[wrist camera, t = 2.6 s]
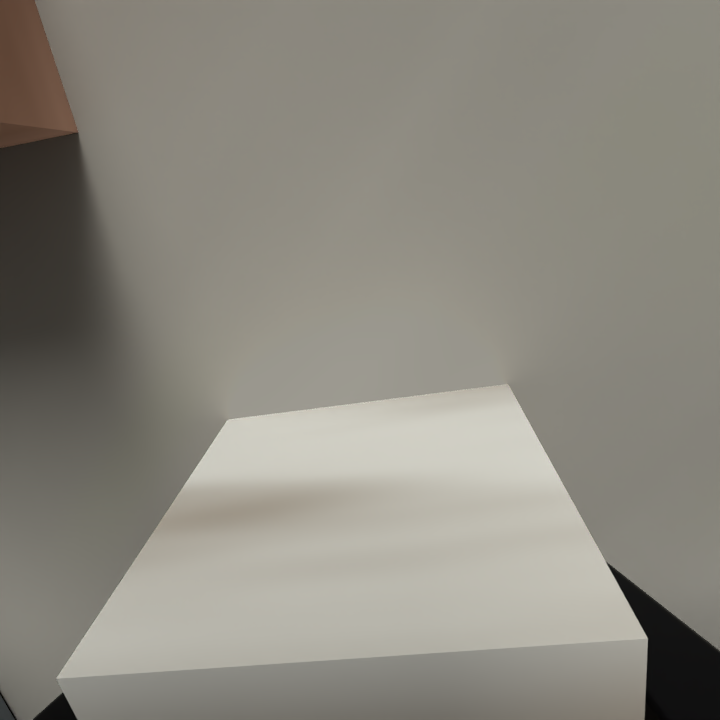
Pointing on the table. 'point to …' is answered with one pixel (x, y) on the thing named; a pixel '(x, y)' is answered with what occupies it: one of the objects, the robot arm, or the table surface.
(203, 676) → the off-white block
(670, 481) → the table surface
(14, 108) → the terracotta block
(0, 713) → the blue-grey square plate
